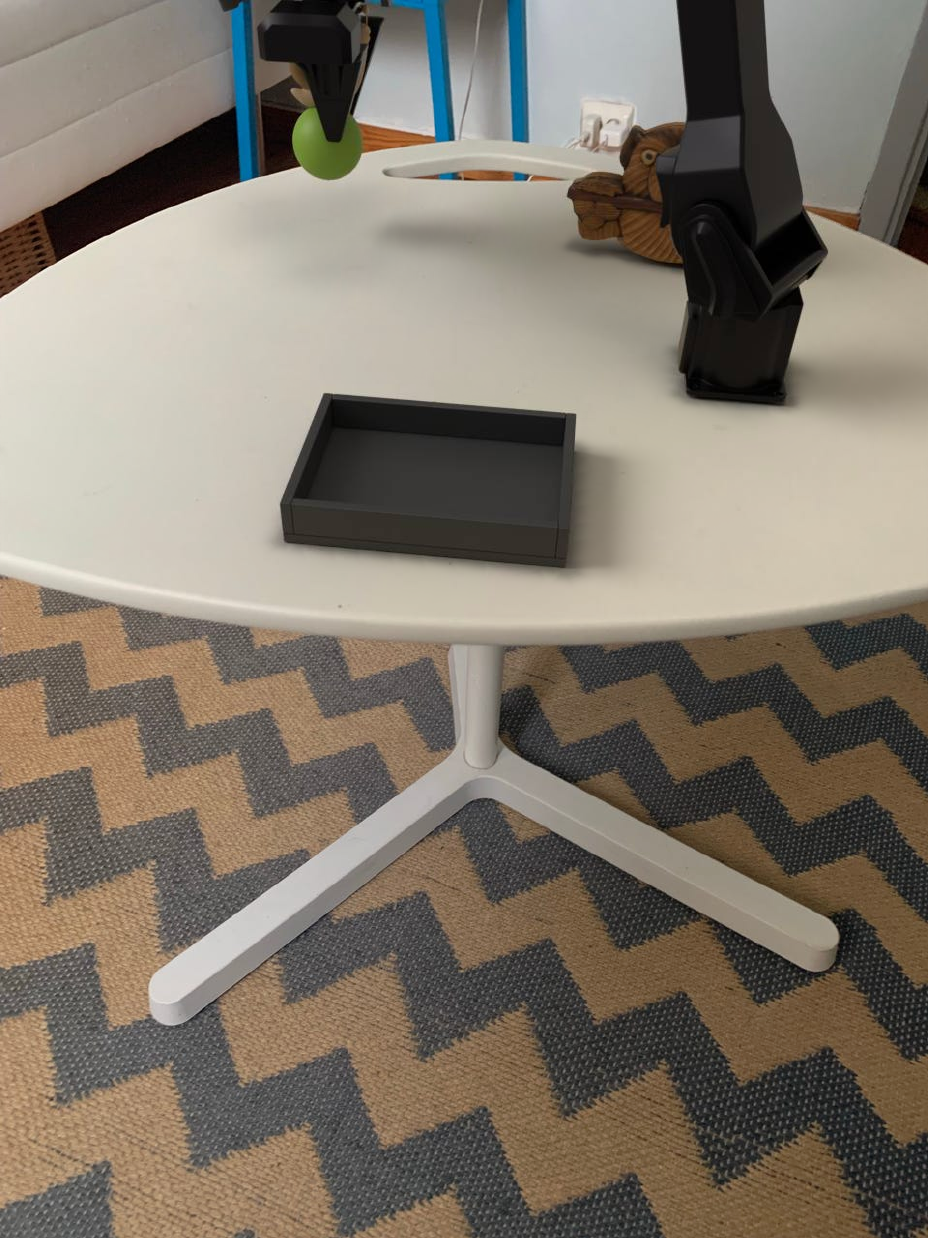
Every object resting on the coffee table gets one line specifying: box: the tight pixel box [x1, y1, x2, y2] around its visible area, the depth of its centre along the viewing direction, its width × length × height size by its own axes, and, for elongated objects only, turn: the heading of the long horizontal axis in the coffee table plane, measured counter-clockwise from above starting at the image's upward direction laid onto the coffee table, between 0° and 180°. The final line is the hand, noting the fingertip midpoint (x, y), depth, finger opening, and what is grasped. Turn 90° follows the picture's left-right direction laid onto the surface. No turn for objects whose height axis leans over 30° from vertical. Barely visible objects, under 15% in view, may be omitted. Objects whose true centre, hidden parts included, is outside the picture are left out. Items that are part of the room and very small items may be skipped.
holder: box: [279, 392, 577, 568], centre depth 59 cm, size 15×11×3 cm
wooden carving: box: [566, 121, 686, 264], centre depth 81 cm, size 16×5×10 cm, turn 78°
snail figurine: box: [287, 3, 371, 181], centre depth 79 cm, size 5×6×12 cm
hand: (338, 133), depth 80 cm, fingers closed on snail figurine, 3 cm apart
